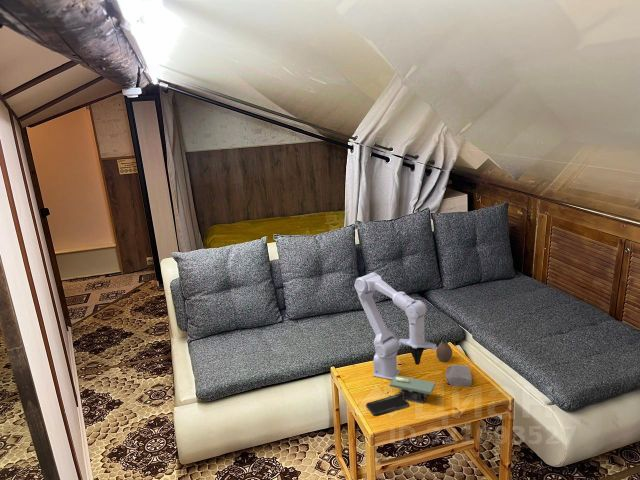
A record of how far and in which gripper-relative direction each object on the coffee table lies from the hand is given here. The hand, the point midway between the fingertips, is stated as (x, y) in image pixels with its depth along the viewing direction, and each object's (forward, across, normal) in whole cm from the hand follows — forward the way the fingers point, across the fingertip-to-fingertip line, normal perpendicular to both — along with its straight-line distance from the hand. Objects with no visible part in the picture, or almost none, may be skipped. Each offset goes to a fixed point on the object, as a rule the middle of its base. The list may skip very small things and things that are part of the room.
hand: (417, 363), depth 182 cm
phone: (+11, -7, -16) cm, 21 cm away
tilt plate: (+6, 0, -7) cm, 9 cm away
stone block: (+11, +13, +12) cm, 21 cm away
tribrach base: (+10, 0, -7) cm, 12 cm away
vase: (+11, +5, +25) cm, 28 cm away
